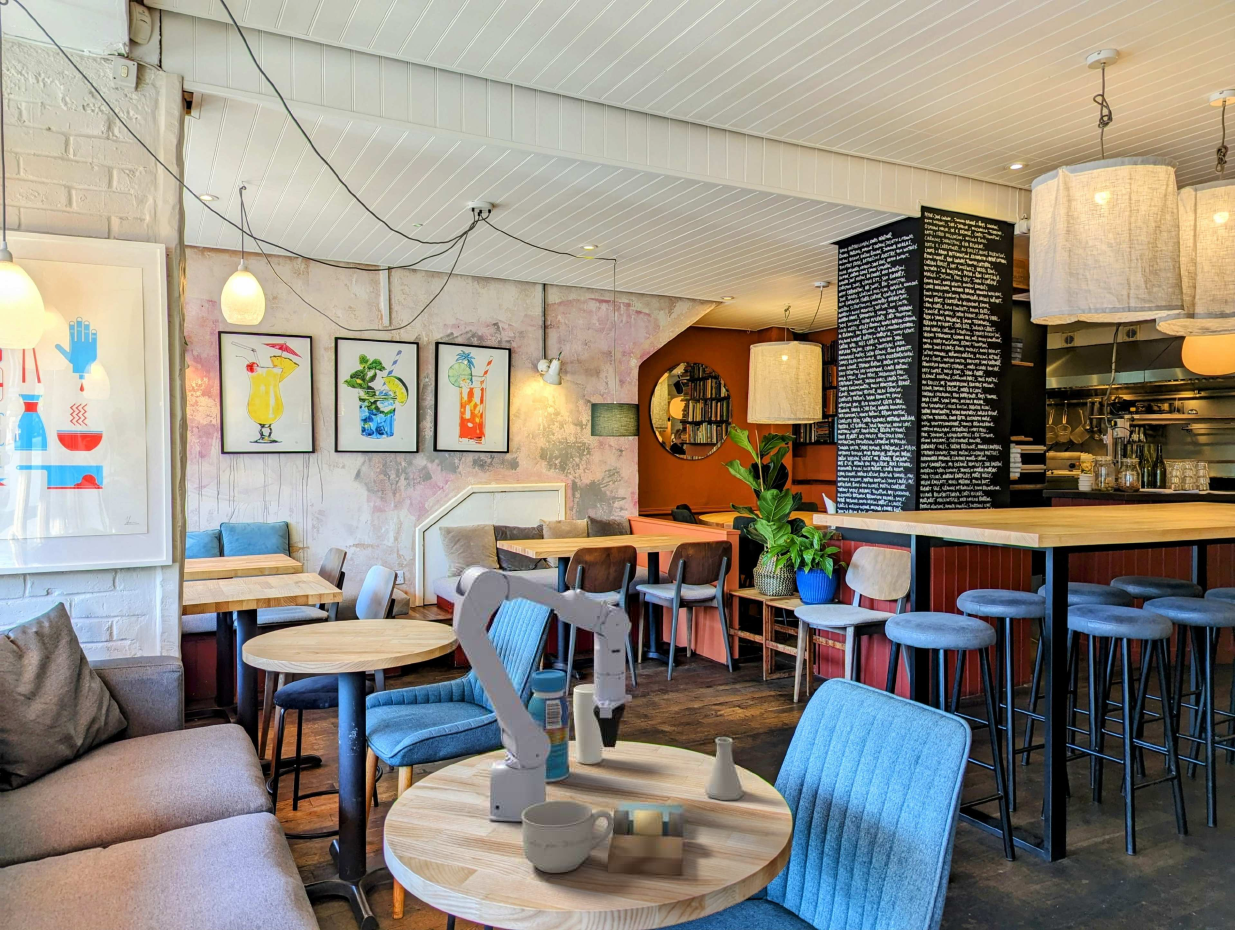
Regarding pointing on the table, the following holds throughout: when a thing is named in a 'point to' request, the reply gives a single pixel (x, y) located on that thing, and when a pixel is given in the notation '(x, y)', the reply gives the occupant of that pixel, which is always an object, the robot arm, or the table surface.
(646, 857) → the fixed hinge leaf
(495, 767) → the robot arm
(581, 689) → the drinking glass
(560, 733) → the beverage bottle
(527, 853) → the teacup
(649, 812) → the loose hinge leaf
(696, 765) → the table surface
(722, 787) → the flask
